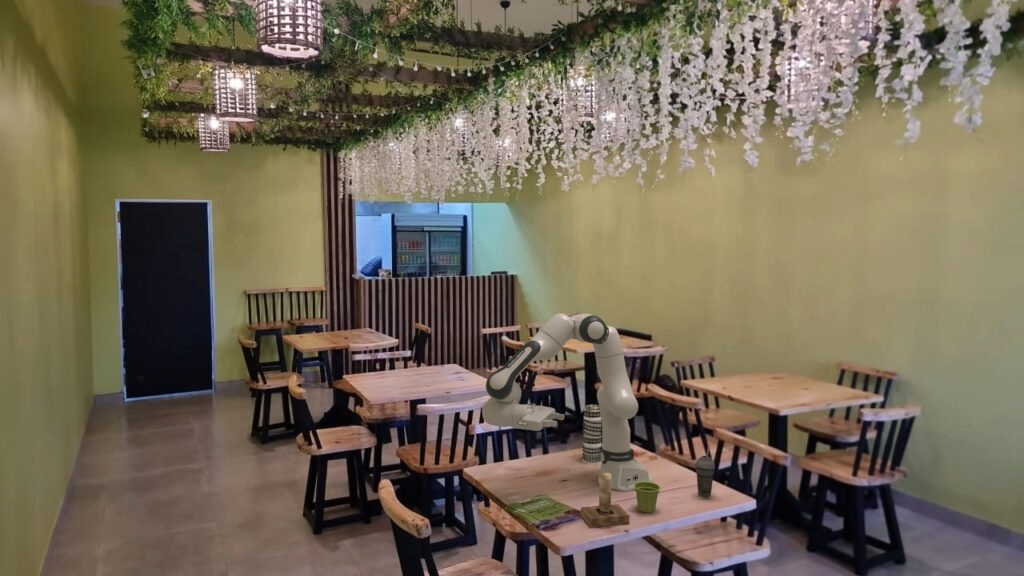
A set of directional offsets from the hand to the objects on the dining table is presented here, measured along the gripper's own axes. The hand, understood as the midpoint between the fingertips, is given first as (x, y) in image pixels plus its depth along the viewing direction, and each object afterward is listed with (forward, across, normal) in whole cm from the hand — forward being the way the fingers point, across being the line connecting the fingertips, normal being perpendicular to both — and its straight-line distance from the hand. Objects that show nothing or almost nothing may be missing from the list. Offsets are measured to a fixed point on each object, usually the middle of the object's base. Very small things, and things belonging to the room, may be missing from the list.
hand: (560, 420), depth 229 cm
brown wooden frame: (+18, -5, +32) cm, 37 cm away
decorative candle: (0, +54, +32) cm, 63 cm away
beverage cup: (+49, +30, +32) cm, 66 cm away
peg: (+18, -5, +32) cm, 37 cm away
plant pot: (+30, +9, +32) cm, 45 cm away
